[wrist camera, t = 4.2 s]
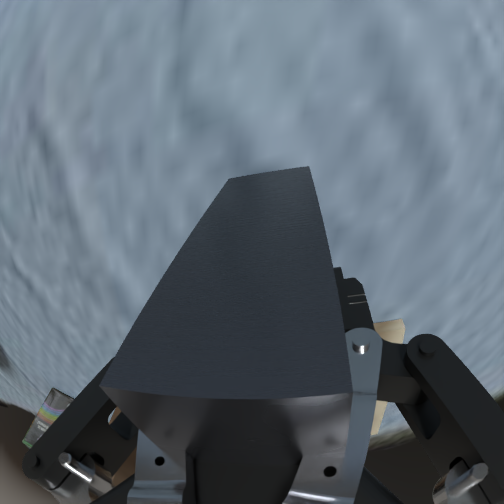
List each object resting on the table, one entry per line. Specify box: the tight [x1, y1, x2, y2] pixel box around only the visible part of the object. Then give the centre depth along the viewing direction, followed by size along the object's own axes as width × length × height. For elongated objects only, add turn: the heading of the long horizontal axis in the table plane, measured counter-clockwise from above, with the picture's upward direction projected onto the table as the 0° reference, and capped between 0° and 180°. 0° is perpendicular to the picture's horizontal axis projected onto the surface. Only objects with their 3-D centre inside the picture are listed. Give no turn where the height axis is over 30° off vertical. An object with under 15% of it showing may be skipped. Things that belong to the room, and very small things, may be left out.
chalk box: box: [23, 388, 74, 449], centre depth 30 cm, size 9×9×15 cm
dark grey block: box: [99, 166, 353, 465], centre depth 11 cm, size 4×8×12 cm, turn 12°
